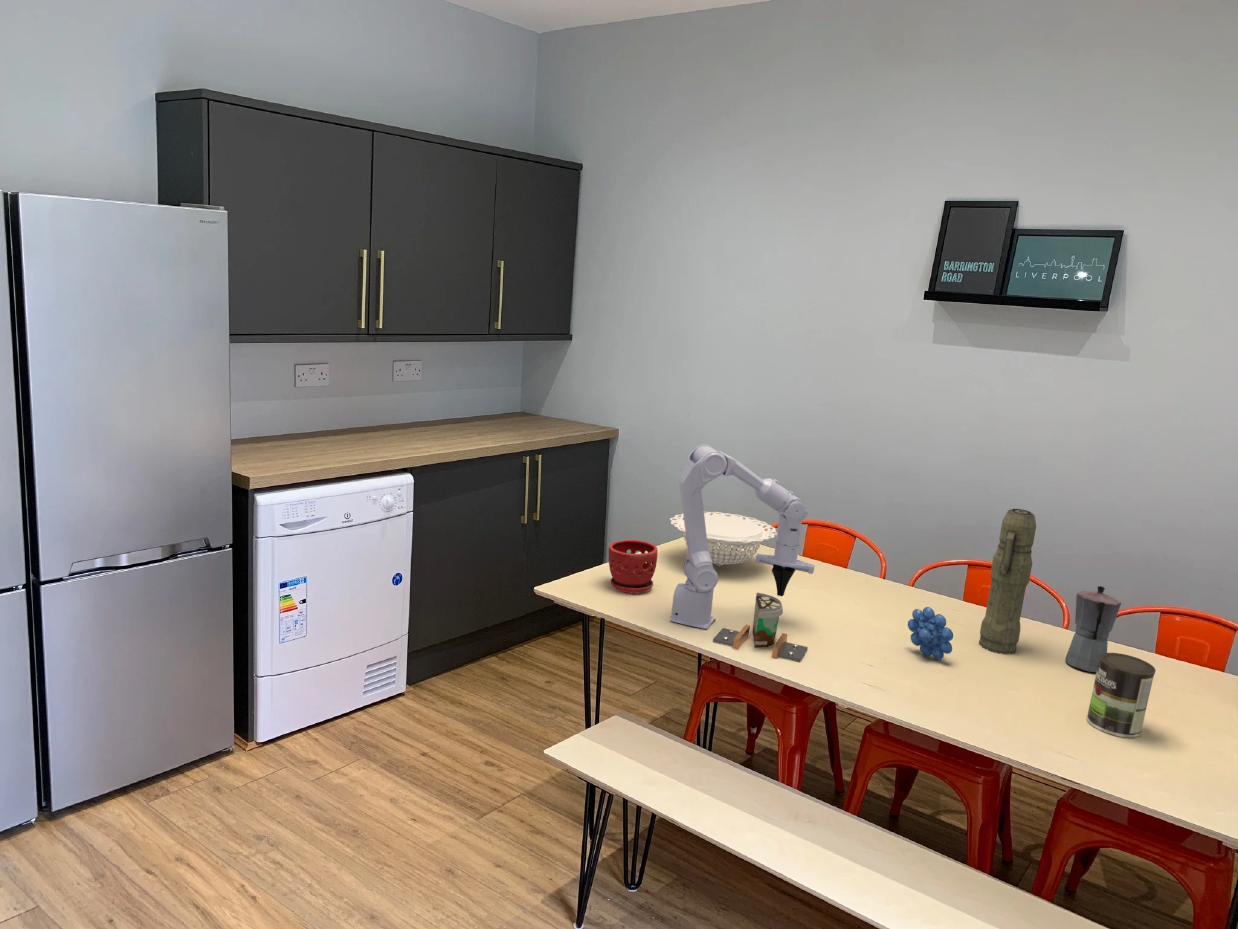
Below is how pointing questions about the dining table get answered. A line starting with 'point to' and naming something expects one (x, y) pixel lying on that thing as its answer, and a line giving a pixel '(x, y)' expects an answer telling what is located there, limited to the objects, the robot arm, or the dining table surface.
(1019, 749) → the dining table surface
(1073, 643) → the moka pot
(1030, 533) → the thermos
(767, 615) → the food container
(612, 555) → the plant pot
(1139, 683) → the coffee can
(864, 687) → the dining table surface
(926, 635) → the grapes
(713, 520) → the white lattice basket
